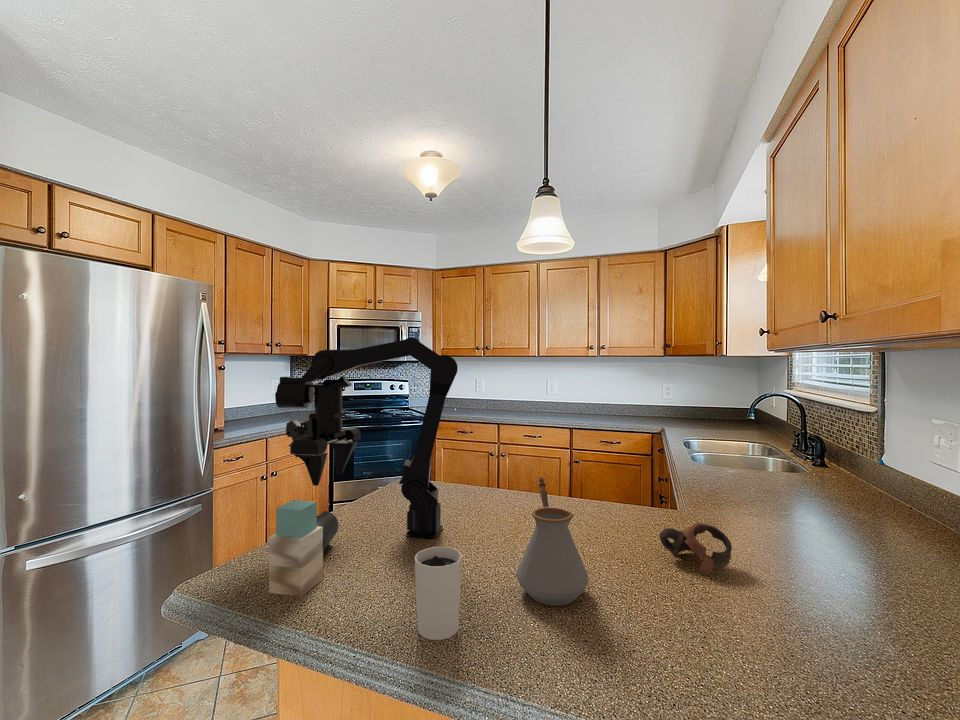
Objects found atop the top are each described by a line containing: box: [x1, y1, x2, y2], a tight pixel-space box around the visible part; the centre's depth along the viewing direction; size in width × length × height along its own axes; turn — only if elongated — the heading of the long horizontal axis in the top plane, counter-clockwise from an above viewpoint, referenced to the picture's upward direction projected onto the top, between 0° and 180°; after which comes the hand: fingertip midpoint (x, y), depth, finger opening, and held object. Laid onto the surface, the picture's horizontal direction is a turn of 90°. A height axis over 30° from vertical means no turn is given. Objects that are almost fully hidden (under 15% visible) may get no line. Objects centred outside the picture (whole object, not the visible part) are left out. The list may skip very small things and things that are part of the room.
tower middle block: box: [268, 526, 324, 568], centre depth 75 cm, size 6×6×4 cm
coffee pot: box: [516, 476, 589, 606], centre depth 77 cm, size 21×12×15 cm, turn 179°
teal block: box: [275, 499, 318, 538], centre depth 75 cm, size 4×4×4 cm
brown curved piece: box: [659, 522, 733, 575], centre depth 83 cm, size 12×10×8 cm
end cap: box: [317, 510, 339, 552], centre depth 87 cm, size 10×7×7 cm
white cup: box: [414, 546, 463, 641], centre depth 63 cm, size 7×7×10 cm
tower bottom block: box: [268, 552, 324, 598], centre depth 75 cm, size 6×6×4 cm
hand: (328, 479), depth 97 cm, fingers open, 9 cm apart
